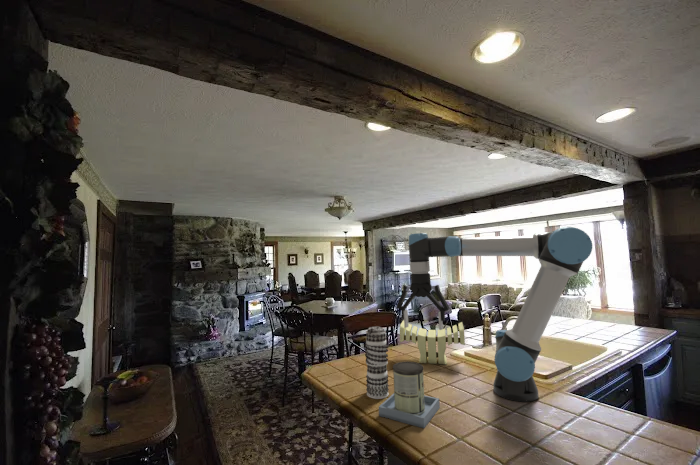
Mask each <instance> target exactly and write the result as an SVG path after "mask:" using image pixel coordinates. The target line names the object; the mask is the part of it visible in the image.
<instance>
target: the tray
mask: <svg viewBox="0 0 700 465" xmlns="http://www.w3.org/2000/svg"><path fill="white" fill-rule="evenodd" d="M424 402H425V412H424V413H423V414H421V415H414V414H410V413H406V412H403V411H399V410H395V399H394V393H392V394H391V395H390V396H388V398H387V399H386V400H384V401H383V402H382V403H381V404H380V405H379V406H378V416H379V417H381V418H384V417H385V419H388V418H389V420H393V421H396V422H399V423H403V424H407V425H410V426H413V427H414V426H415V427H418V428H421V429H426V427H427V426H428V424H429V423H430V422H431V421H432V418H433V417H434V416H435V414H436V413H437V412H438V410H439V409H440V404H441V402H440V398H439V397H433V396H428V395H425V394H424Z"/></svg>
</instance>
